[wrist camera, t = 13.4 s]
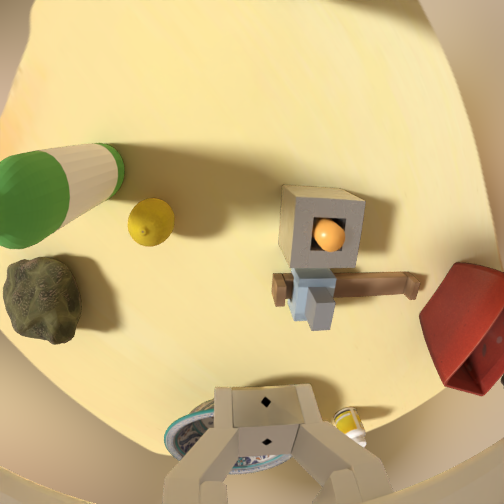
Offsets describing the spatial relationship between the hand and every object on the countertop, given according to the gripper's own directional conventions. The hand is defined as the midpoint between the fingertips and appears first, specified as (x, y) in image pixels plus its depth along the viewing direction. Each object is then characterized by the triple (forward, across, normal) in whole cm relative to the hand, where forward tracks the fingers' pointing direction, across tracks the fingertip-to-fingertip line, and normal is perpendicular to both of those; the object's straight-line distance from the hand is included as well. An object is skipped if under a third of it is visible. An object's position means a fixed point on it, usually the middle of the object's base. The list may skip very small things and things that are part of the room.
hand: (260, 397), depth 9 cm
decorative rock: (+31, +31, +14) cm, 46 cm away
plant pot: (+31, -42, +17) cm, 55 cm away
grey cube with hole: (+31, -10, +2) cm, 33 cm away
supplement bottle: (+31, -25, +46) cm, 61 cm away
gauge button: (+27, -10, +2) cm, 29 cm away
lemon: (+31, +10, +2) cm, 33 cm away
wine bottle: (+31, +18, -4) cm, 36 cm away
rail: (+31, -17, +12) cm, 37 cm away
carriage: (+31, -10, +12) cm, 35 cm away
